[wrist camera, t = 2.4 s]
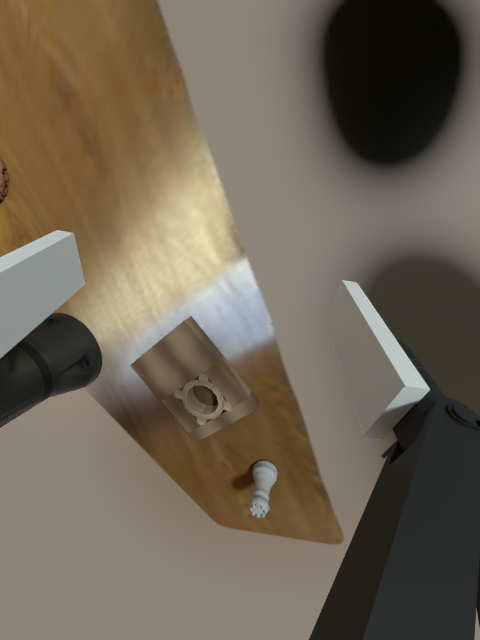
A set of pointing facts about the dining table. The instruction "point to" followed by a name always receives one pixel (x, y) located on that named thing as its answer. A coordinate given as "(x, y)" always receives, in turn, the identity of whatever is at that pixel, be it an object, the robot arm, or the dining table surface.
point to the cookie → (3, 180)
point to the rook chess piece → (262, 487)
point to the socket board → (195, 380)
